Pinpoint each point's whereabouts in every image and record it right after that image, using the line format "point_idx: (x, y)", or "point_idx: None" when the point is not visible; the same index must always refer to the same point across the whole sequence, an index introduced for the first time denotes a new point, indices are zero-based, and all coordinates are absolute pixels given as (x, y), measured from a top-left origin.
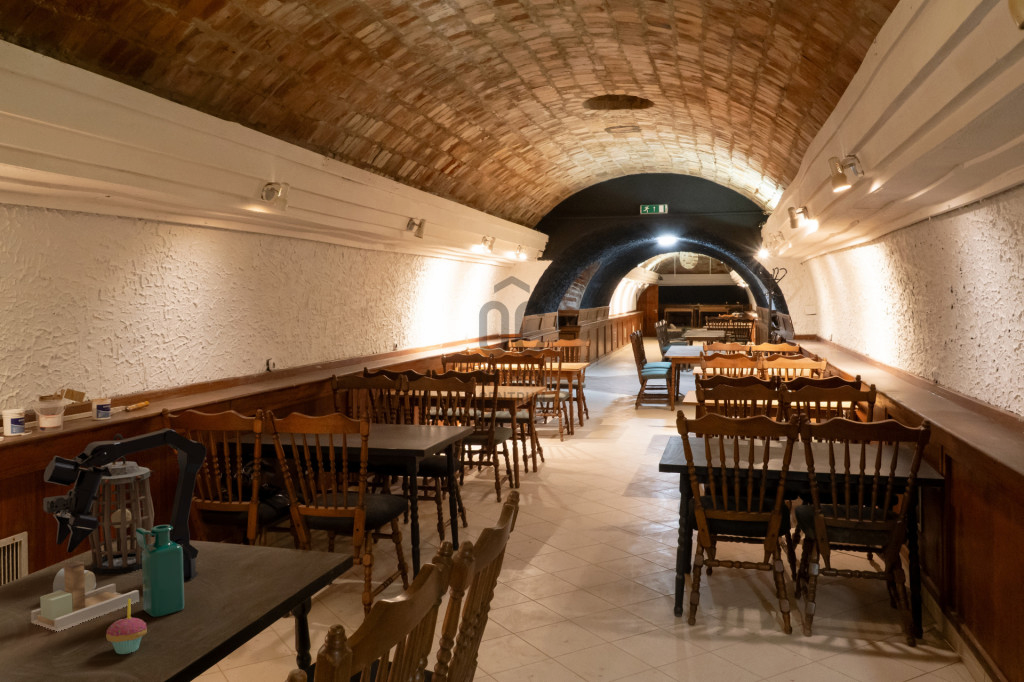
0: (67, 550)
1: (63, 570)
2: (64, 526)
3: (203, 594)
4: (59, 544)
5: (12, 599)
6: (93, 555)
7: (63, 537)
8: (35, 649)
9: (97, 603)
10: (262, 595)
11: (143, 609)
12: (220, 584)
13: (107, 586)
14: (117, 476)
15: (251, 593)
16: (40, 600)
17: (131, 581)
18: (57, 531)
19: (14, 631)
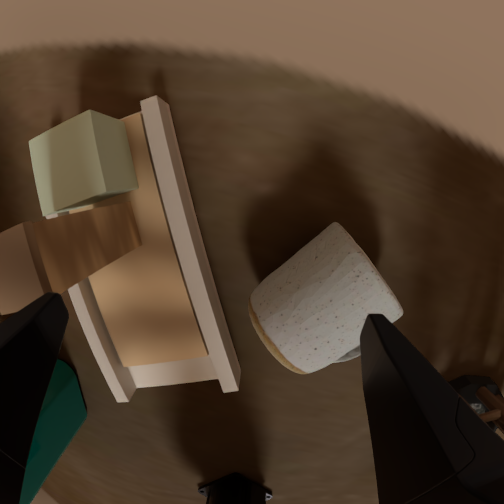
0: (43, 296)
1: (362, 287)
2: (418, 482)
3: (101, 462)
4: (362, 329)
5: (441, 134)
6: (492, 402)
7: (374, 393)
8: (9, 96)
9: (117, 295)
10: (54, 482)
11: (59, 359)
12: (140, 496)
13: (221, 370)
14: None
15: (69, 484)
16: (97, 112)
17: (311, 429)
18: (451, 390)
19: (141, 57)
